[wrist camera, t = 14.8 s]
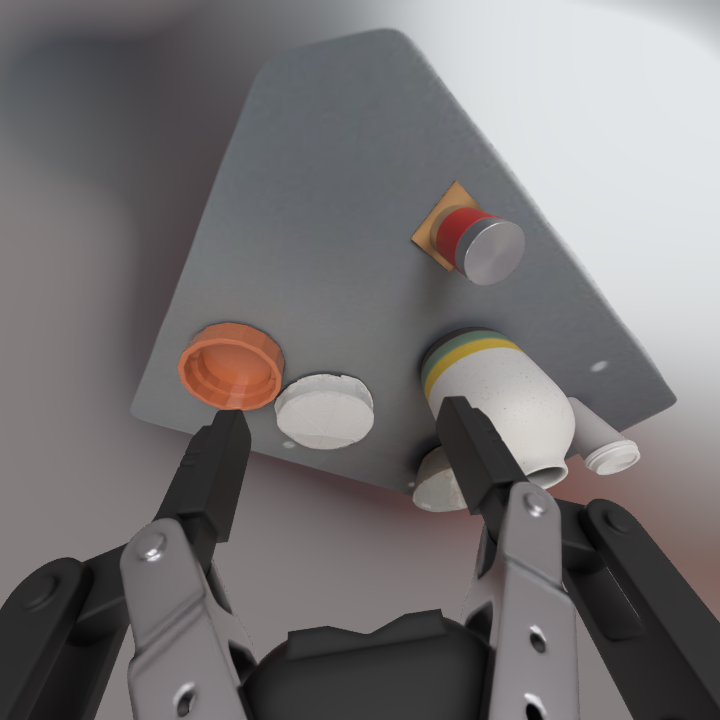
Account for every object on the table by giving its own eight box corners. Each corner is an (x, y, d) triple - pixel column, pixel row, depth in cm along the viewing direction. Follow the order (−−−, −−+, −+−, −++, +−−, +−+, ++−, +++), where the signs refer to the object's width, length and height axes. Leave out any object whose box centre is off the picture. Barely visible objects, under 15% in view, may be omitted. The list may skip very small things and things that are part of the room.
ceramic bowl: (452, 479, 80) (466, 515, 72) (387, 469, 72) (395, 507, 64) (504, 437, 69) (528, 473, 61) (434, 419, 61) (450, 458, 53)
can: (419, 237, 35) (451, 264, 27) (455, 192, 32) (503, 206, 24) (450, 264, 38) (487, 296, 29) (485, 225, 35) (538, 248, 27)
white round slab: (393, 401, 55) (401, 428, 50) (330, 447, 63) (331, 474, 57) (319, 352, 45) (319, 378, 40) (255, 412, 53) (248, 442, 47)
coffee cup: (535, 419, 65) (582, 478, 53) (556, 392, 59) (614, 450, 48) (568, 419, 67) (621, 475, 55) (592, 392, 61) (657, 448, 49)
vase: (457, 398, 57) (523, 519, 38) (395, 371, 50) (439, 502, 31) (521, 341, 49) (645, 457, 30) (458, 299, 42) (568, 417, 23)
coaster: (410, 238, 36) (411, 238, 35) (455, 180, 32) (456, 180, 32) (448, 271, 39) (450, 272, 39) (492, 222, 35) (494, 223, 35)
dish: (180, 370, 44) (166, 391, 41) (209, 304, 38) (196, 321, 34) (262, 400, 51) (257, 420, 47) (299, 347, 44) (297, 366, 40)
